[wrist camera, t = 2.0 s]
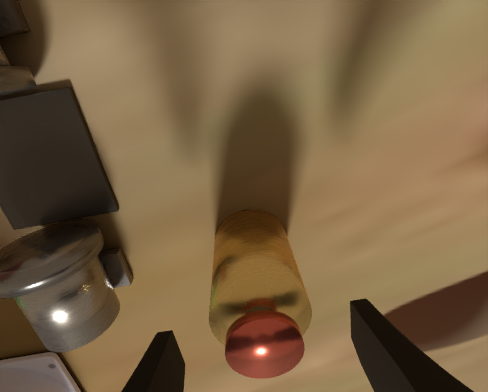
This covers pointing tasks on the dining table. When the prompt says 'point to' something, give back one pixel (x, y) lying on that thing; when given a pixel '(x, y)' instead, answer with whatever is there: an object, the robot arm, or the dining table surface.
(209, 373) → the dining table surface
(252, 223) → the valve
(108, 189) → the grey metal fittings
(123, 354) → the dining table surface
